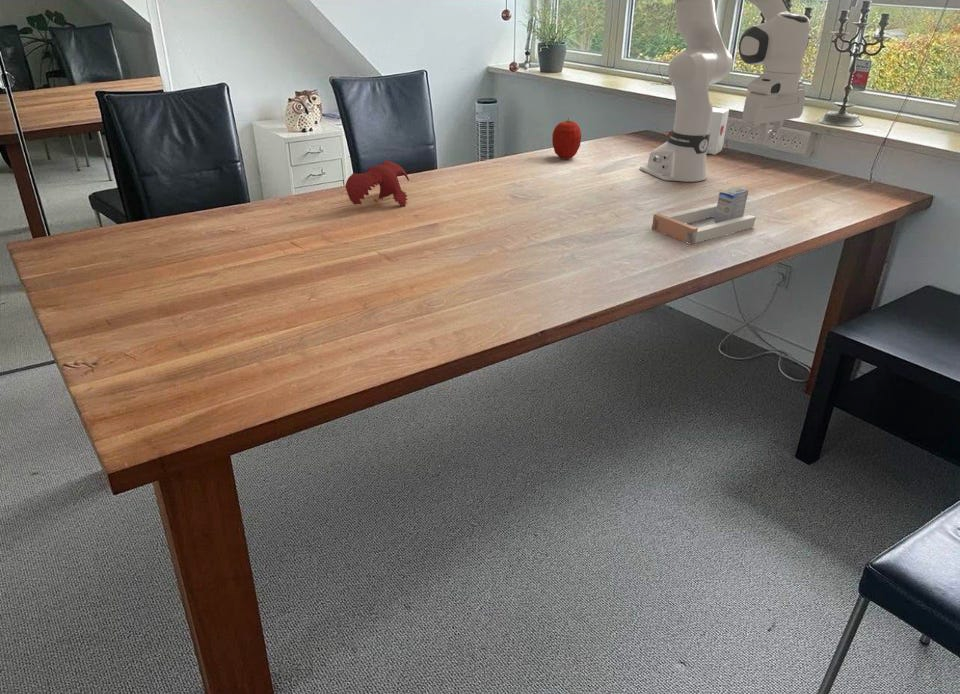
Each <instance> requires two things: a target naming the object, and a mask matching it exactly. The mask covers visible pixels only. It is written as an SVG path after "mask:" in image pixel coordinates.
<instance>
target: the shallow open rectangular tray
mask: <svg viewBox="0 0 960 694" xmlns="http://www.w3.org/2000/svg"><path fill="white" fill-rule="evenodd" d="M716 209H717V203H715V202H714V203H710V204H707V205H702V206H697V207H694V208H690V209H685V210H681V211H676V212H672V213H668V214H661V213H658V212H656V213H653V218H652V225H651V230H653V231H656V230H657V231H656V232H659V233H661V234H664V233H665V234H664V235H666V234H667V235H666V236H668V235H670V236H669V237H671V236H672V237H671V238H673V237H675V238H674V239H676V238H677V239H676V240H678V239H680V240H679V241H681V240H683V241H685V242H684V243H686V242H688V243H690V244H689V245H694V244H693V243H695V244H698V243H697V242H699V243H702V242H705V241H704V240H706V241H709V240H708V239H710V240H713V239H712V238H714V239H716V237H717V238H721V237H724V236H723V235H725V236H727V235H726V234H728V235H731V234H730V233H732V234H734V233H733V232H736V233H738V232H737V231H740V232H742V231H741V230H743V231H745V230H744V229H747V230H749V229H748V228H751V229H753V228H752V227H755V224H756V223H755V221H756V216H754V215H751V214H748V215H743V217H739V218H735V219H731V220H727V221H723V222H719V223H712V224H708V225H704V226H701V227H696V226H693V225H690V223H689V222H692V223H694V222H693V221H696V222H699V221H698V220H700V221H703V220H702V219H704V220H706V219H705V218H708V219H710V218H709V217H712V218H714V217H713V216H715V214H716ZM685 223H688V224H685ZM720 236H721V237H720ZM683 241H682V242H683ZM701 241H702V242H701ZM688 243H687V244H688Z"/></svg>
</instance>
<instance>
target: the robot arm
mask: <svg viewBox="0 0 960 694" xmlns="http://www.w3.org/2000/svg"><path fill="white" fill-rule="evenodd" d="M744 1H745V2H748V3H750V4H752V5H754V6H755V7H756V8H757V9H758V10H759V11H760V13H761V14H762V16H763V18H764V20H765V22H763V23H758V24H755V25H751V26H749V27H748V28H747V29H745V30H744V32H743V33H742V34H741V37H740V39H739V43H738V54H739V57H740V59H741V60H742V62H743V63H744V64H748V65H750V66H761V65H763V66H764V69H763V73H762V74H761V75H759V76H757V78H755V79H754V80H752V81H750V82H749V83H748V85H747V92H749V93H748V94H747V95H746V98H745V100H744V105H743V111H742V117H741V118H742V122H743V123H744V124H747V125H752V126H756V125H758V127H759V131H760V133H759V139H760V140H763V141H765V140H769V138H770V139H777V138H778V136H779V132H780V130H781V128H782V126H783V125H784V122H785V121H787V120H793V119H799V118H800V117H801V116H802V114H803V111H804V108H805V107H804V106H805V98H806V92H805V85H804V82H803V81H802V80H801V74H802V62H803V59H804V56H806V52H807V49H808V46H809V37H810V19H809V17H808V16H806V15H805V14H802V13H799V12H794V11H791V8H790V7H789V4H788V3H787V1H786V0H744ZM674 7H675V17H676V23H677V24H676V25H677V26H676V27H677V31H678V33H679V35H681V36H682V38H683V39H684V41H685V44H686V46H687V49H685V50H683V51H681V52H680V53H678V54H676V55H674V57H673V58H672V59H671V60H670V62H669V64H668V66H667V67H668V68H667V73H668V74H667V75H668V78H669V80H670V82H671V84H672V85H673V88H674V93H675V94H674V95H675V105H676V106H675V112H674V113H675V115H674V120H673V121H674V123H673V129H672V130H671V131H666V132H665V136H668V138H667V140H666V141H665V142H664V143H663V144H661V145H659V146H657V147H656V148H654V149H653V150H652V151H651V152H650V153H649V157H648V159H647V160H648V161H647V163H643V164H641V165H640V167H639V170H641V171H643V172H645V173H647V174H650V175H652V176H653V177H656V178H658V179H660V180H663V181H674V182H675V181H677V182H688V183H689V182H702V181H704V180H706V179H708V177H707V176H708V175H707V153H706V151H707V147H708V144H709V139H710V133H709V129H710V123H711V117H712V112H713V104H712V103H711V102H710V97H709V85H715V84H717V83H719V82H721V81H722V80H723V79H725V78H726V77H728V76H729V74H730V72H731V71H732V70H733V69H732V68H733V63H734V61H733V56H732V54H731V52H730V51H729V50H728V49H727V47H726V45H725V44H724V40H723V38H722V36H721V32H720V29H719V26H718V20H717V14H716V5H715V0H674ZM771 123H773V126H772V128H771V129H770V130H768V129H769V127H770V125H771Z"/></svg>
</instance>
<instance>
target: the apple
mask: <svg viewBox="0 0 960 694" xmlns="http://www.w3.org/2000/svg"><path fill="white" fill-rule="evenodd" d="M581 131H582V130H581V128H580V126H579V124H578V123H577V122H574V121H572V120H569V117H568V118H567V120H564V121H561V122H559V123H558V124H557V125H556V126H555V127H554V129H553V131H552V144H551V145H552V148H553V150H554V153H555V155H557V156H558V158H559V159H563V160H571V159H573V158H574V156H576V154H577V153H578V151H579V149H580V147H581V142H582V132H581Z"/></svg>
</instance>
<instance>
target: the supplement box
mask: <svg viewBox="0 0 960 694" xmlns="http://www.w3.org/2000/svg"><path fill="white" fill-rule="evenodd" d="M712 107H713V106H712ZM729 112H730V109H729V108H723V107H722V108H721V107H713V112H712V117H711V123H710V129H709V133H710V139H709V144H708V147H707V151H706V154H709V155H717V154H719V153H720V152H721V151H722V150H723V146H724V141H725V134H726V131H727V125H728V124H727V123H728V119H729Z"/></svg>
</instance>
